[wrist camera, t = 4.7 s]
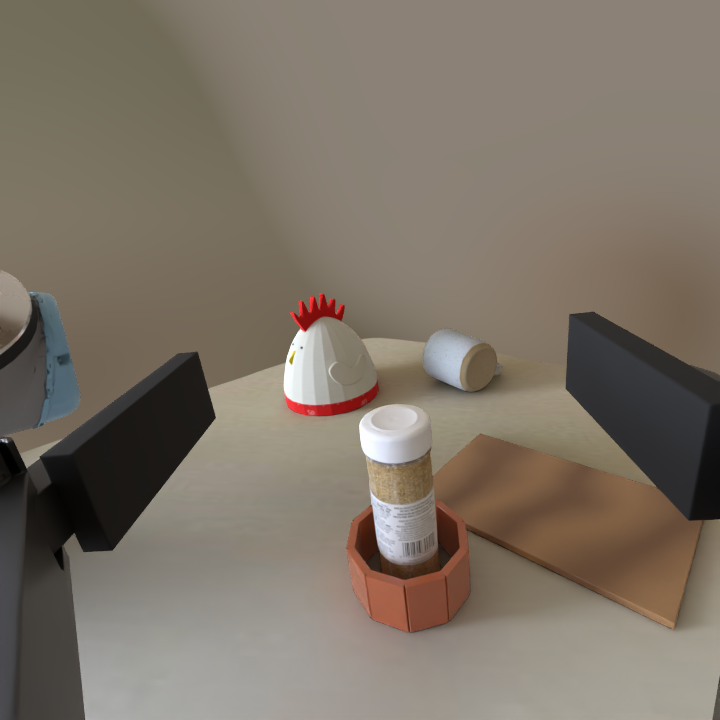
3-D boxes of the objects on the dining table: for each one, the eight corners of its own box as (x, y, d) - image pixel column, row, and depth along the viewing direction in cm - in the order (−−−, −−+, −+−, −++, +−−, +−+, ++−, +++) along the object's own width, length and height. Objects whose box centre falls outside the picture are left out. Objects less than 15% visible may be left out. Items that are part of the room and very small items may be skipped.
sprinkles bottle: (433, 548, 34) (422, 397, 29) (449, 598, 29) (438, 430, 25) (377, 556, 34) (356, 406, 29) (384, 608, 29) (361, 441, 25)
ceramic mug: (463, 401, 56) (462, 347, 53) (422, 384, 62) (419, 334, 60) (516, 378, 61) (517, 327, 58) (473, 364, 67) (473, 317, 65)
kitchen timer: (271, 395, 65) (251, 300, 60) (344, 367, 72) (332, 280, 67) (316, 426, 54) (296, 314, 49) (397, 390, 61) (387, 289, 56)
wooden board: (410, 501, 39) (409, 496, 39) (480, 437, 47) (479, 433, 47) (674, 630, 26) (675, 623, 25) (706, 509, 34) (707, 503, 34)
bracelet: (330, 586, 31) (322, 545, 30) (402, 518, 37) (398, 481, 36) (422, 658, 26) (417, 612, 24) (491, 565, 31) (490, 523, 30)
